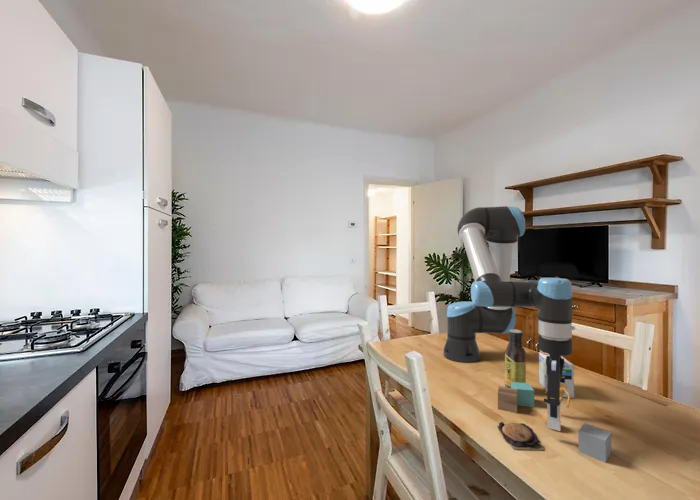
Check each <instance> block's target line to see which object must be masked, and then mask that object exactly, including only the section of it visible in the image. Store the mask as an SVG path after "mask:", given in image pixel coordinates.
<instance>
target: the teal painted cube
mask: <svg viewBox="0 0 700 500" xmlns="http://www.w3.org/2000/svg"><path fill="white" fill-rule="evenodd" d="M511 388H513V389H517V406H521V407H531V408H534V407H535V389H534V388H533V387H532V386H531V385H530V383H528V382H526V383H518V382H511Z"/></svg>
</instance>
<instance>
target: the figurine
mask: <svg viewBox="0 0 700 500" xmlns="http://www.w3.org/2000/svg"><path fill="white" fill-rule="evenodd" d="M544 393H545V394H547V390H546V389H545V392H544ZM564 393H566V394H567V395H568V397H567V403H566V404H565V408H567V409H569V408H570V402H571V399H572V398H571V395H570V394H569V392H568V391H567V386H566V385H565V384H562V383H560V403H561V402H562V403H563V400H564V397H562V395H563V394H564ZM552 399H554V398H552ZM542 421H543V422H544V424H545V425H546V426H547V411H545V412H544V413H543V416H542ZM561 421H562V420H561V419H560V424H561V423H562V422H561Z"/></svg>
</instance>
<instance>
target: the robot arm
mask: <svg viewBox="0 0 700 500" xmlns="http://www.w3.org/2000/svg"><path fill="white" fill-rule="evenodd" d="M524 215H525V214H523V211H522V210H521V209H520V208H519V207H518V206H507V205H505V206H504V205H503V206H488V207H487V206H485V207H483V206H482V207H481V206H479V207H474V208H472V209H470V210H468V211H467V212H466V213H465V214H463V216H462V217H461V218H460V220H459V221H458V224H457V236H458V238H459V240H460V241H461V242H462V243H463V246H464V248H465V249H464V250H465V253H466V256H467V259H468V263H469V266H470V269H471V273H472V275H473V278H474V281H473V282H472V284H471V285H470V298H471V301H466V300H465V301H457V302H453V303H450V304H449V305H448V306H447V312H446V319H447V321H446V322H447V324H446V325H447V326H446V327H447V331H446V333H447V334H446V335H447V338H446V340H445V343H444V346H443V349H442V350H443V352H442V353H443V356H444V357H445V358H446V359H447V360H451V361H452V362H453V361H454V362H458V363H459V362H460V363H475V362H478V361H480V360H481V352H480V349H479V345H478V343H477V340H476V339H477V338H476V336H477V334H498V335H501V334H509V330H511V329H515V326H516V320H517V317H516V315H517V314H516V310H515V308H536V309H537V311H538V313H537V314H538V319H537V329H538V330H537V333H538V334H539V335H538V337H537V338H538V344H537V345H538V349H539V350H540V352H541V353H548V354H549V356H547V359H546V366H547V371H546V373H547V376H548V386H547V392H546V395H547V396H546V398H543V402H544V403H546V405H547V406H546V412H547V425H546V427H547V428H548V429H551V430H554V431H558V432H561V423H560V420H561V408H563V401H562V402H561V403H560V382H562V383H565V379H562V375H563V368H564V359H563V358H561V356H565V357H566V356H567V357H568V356H570V355H572V354H573V340H572V339H571V338H572V337H573V331H575V330H576V327H575V326H574V325H573V296H574V295H573V288H572V286H573V285H572V284H573V283H572V282H571V281H570V279H568V278H561V277H541V278H540V279H539V280H531V279H530V280H525V281H510V278H511V267H512V257H513V247H514V245H515V244H517V243H518V242H519V241H518V240H519V238H520V237H522V236H524V234H525V232H526V219H525V216H524ZM552 398H554V399H552Z"/></svg>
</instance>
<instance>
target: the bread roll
mask: <svg viewBox="0 0 700 500" xmlns="http://www.w3.org/2000/svg"><path fill="white" fill-rule="evenodd" d="M497 429H498V431H499V433H500V434H501V436H502V437H503V440H504V441H505V442H506V443H507V444H508V445H509V446H510V447H511V449H512V450H514V451H529V452H532V451H534V452H545V451H546V450H545V447H543V445H542V444H541V443H542V442H541V441H540V440H539V439H538V436H537V435H536V434H535V432H534V430H533V428H531V427H530V426H529V425H526V423H520V422H519V423H518V422H510V423H504V422H503V421H501V422H499V423H498V425H497Z"/></svg>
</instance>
